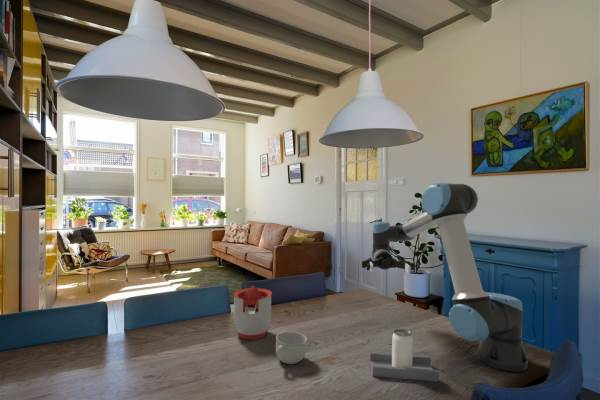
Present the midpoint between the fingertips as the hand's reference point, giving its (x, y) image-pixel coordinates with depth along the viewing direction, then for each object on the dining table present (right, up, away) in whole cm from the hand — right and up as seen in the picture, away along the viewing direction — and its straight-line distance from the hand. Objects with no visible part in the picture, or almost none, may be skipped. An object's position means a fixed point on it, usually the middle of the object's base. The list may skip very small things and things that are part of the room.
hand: (390, 269), depth 122 cm
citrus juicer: (-53, -29, +11) cm, 62 cm away
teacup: (-38, -30, -10) cm, 49 cm away
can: (0, -30, -15) cm, 33 cm away
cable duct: (0, -30, -15) cm, 33 cm away
